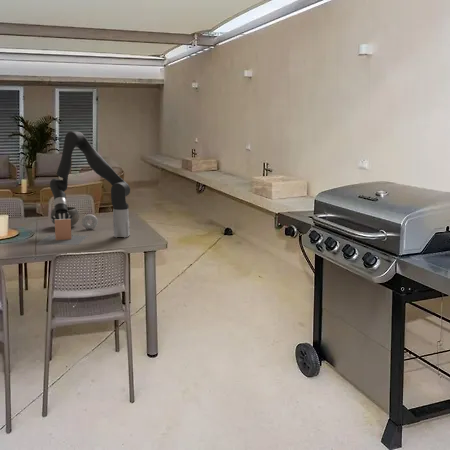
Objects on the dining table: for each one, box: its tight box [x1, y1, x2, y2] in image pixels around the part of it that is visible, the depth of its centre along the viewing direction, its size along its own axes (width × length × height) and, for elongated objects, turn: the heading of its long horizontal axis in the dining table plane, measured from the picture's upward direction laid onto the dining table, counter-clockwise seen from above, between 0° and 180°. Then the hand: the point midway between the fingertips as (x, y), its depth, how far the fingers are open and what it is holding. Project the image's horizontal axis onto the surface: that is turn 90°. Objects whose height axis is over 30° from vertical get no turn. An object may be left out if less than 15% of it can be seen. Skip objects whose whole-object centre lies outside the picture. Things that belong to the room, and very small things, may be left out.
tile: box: [54, 219, 72, 240], centre depth 314 cm, size 2×9×12 cm, turn 110°
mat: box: [36, 234, 89, 246], centre depth 314 cm, size 24×24×1 cm
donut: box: [81, 213, 99, 230], centre depth 345 cm, size 10×3×10 cm, turn 103°
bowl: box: [50, 206, 80, 227], centre depth 352 cm, size 18×18×13 cm
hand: (63, 229), depth 315 cm, fingers closed
